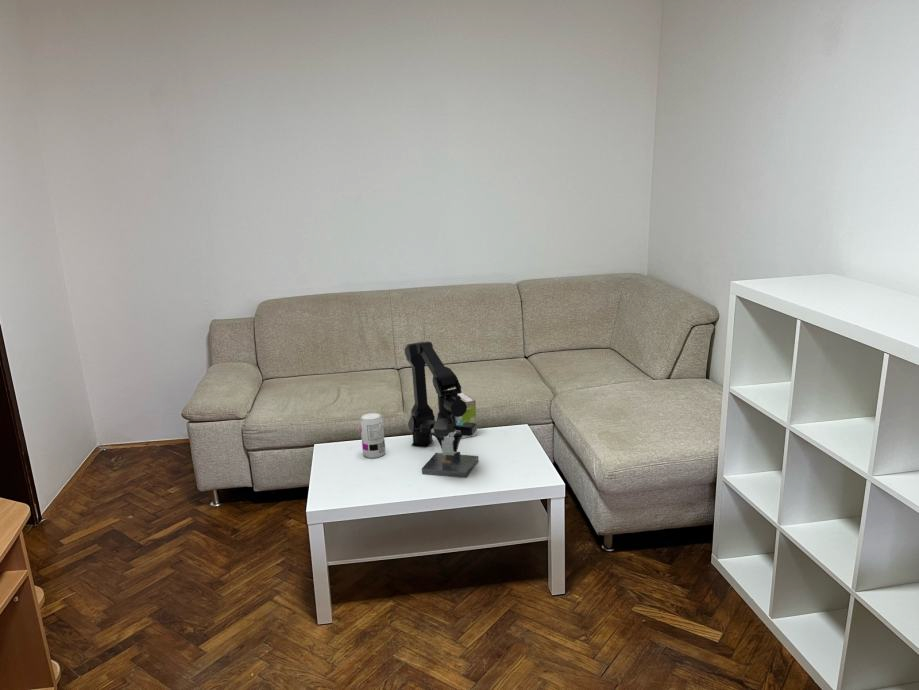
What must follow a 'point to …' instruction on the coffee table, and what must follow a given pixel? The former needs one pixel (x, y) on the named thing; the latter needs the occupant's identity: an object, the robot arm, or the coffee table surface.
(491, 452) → the coffee table surface
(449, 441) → the grey metal cube
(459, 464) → the stand
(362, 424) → the supplement can
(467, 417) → the tea box
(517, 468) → the coffee table surface
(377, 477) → the coffee table surface
